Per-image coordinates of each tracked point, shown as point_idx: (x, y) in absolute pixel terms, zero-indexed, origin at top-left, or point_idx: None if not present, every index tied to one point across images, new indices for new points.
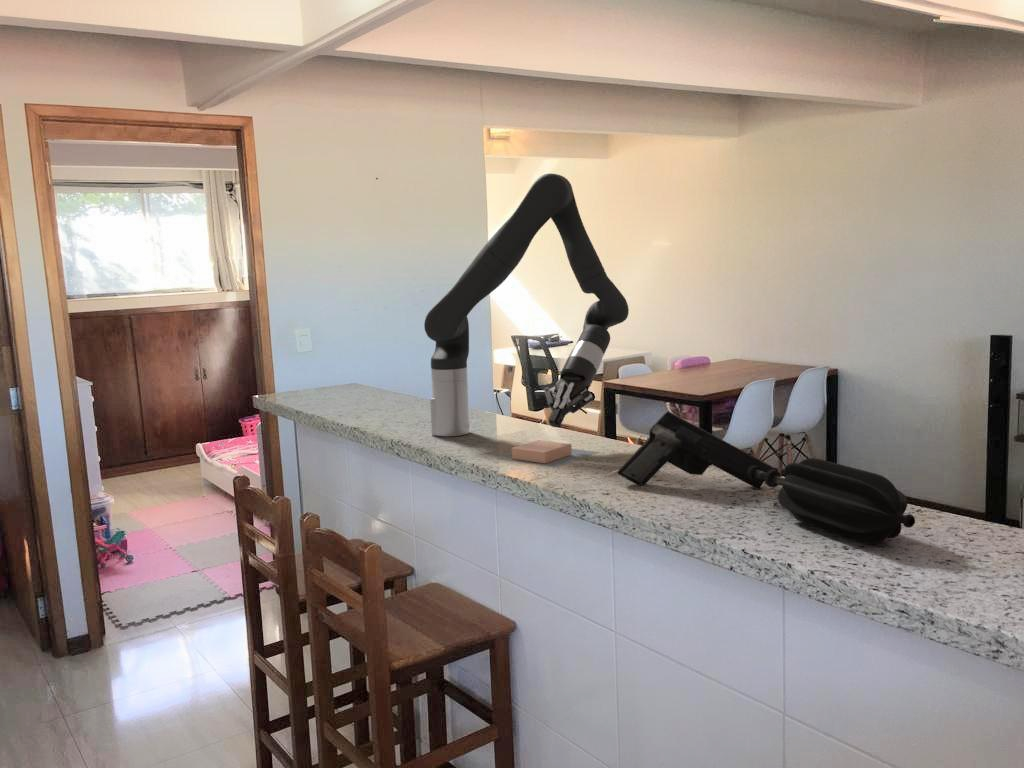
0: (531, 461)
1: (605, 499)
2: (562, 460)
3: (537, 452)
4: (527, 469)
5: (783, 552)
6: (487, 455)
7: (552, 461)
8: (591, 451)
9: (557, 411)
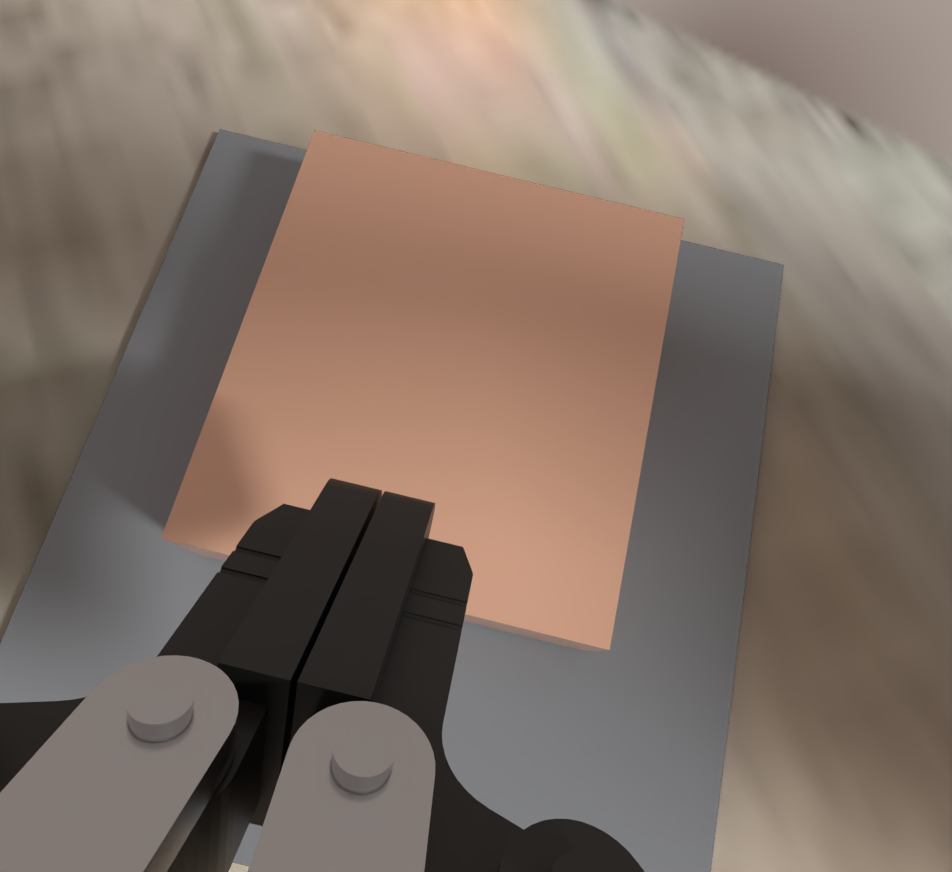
0: None
1: None
2: (225, 337)
3: (394, 157)
4: (414, 80)
5: None
6: (942, 398)
7: None
8: None
9: (286, 620)
